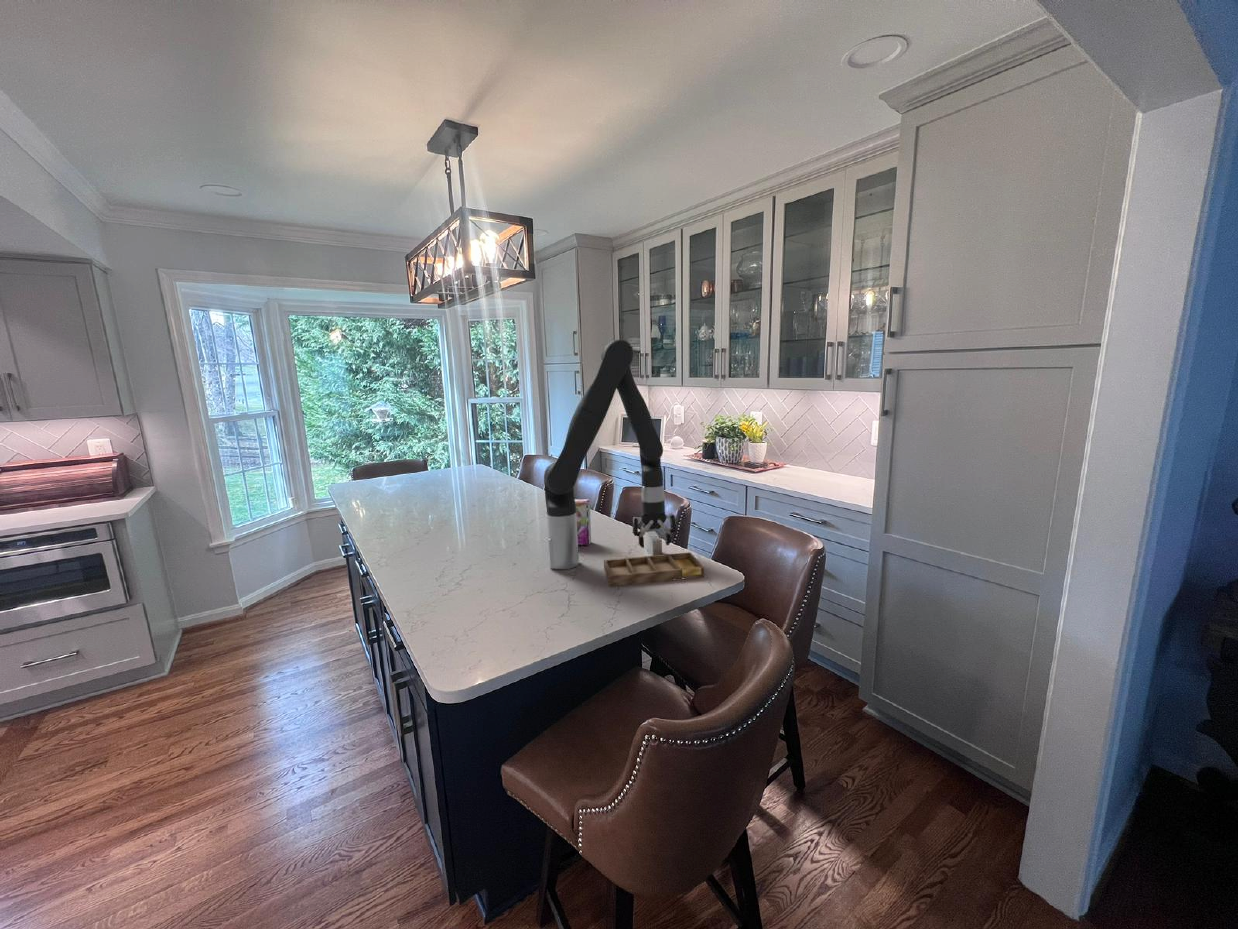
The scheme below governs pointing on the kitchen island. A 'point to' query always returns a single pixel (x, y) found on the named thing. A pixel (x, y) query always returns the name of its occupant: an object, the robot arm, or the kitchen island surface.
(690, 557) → the rack
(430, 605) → the kitchen island surface
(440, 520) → the kitchen island surface
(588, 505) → the candy bar box
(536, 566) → the kitchen island surface
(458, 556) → the kitchen island surface
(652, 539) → the panel
